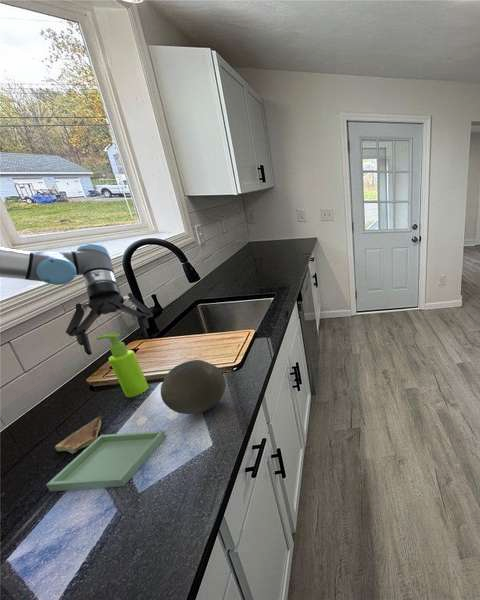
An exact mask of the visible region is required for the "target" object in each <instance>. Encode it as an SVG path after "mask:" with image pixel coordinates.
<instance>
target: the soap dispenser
mask: <svg viewBox="0 0 480 600" xmlns="http://www.w3.org/2000/svg"><path fill="white" fill-rule="evenodd" d="M120 336H121V333H120V332H112V333H111V332H109V333H105V334H102V335H100V336H98V337H96V338H95V340H97V341H99V340H103V339H109V341H110V343H111V344H110V345H109V346H108V347H109V350H110V352H111V354H112V355H110V356H109V357H108V358H107V359H108V360H107V361H108V362H109V364H110V366H111V368H112V370H113V373H114V375H115V377H116V379H117V382H118V383H119V386H120V387H121V390H122V392H123V394H124V396H125V397H126V398H135V397H138V396H140V395H143V394H144V393H146V392H147V391H148V390H149V389H148V388H150V386H149V384H148V381H147V379H146V377H145V374H144V371H143V370H142V367H141V365H140V363H139V360H138V358H137V356H136V353H135V351H134V350H133V349H127V346H126V343H125V341H124V342H123V341H120V339H119V338H118V337H120ZM147 389H148V390H147ZM146 390H147V391H146ZM145 391H146V392H145ZM143 392H144V393H143ZM139 394H140V395H139ZM137 395H138V396H137Z"/></svg>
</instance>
